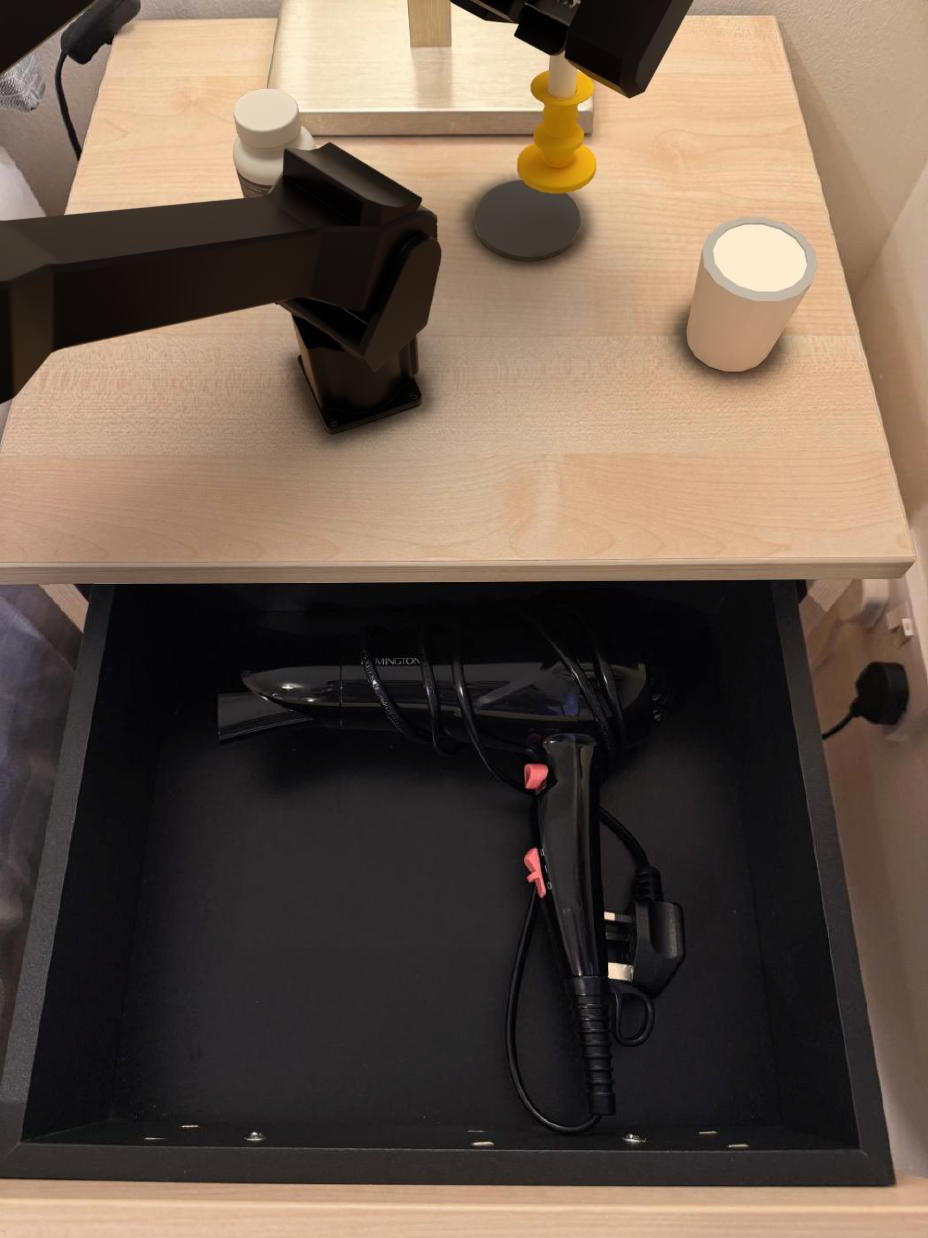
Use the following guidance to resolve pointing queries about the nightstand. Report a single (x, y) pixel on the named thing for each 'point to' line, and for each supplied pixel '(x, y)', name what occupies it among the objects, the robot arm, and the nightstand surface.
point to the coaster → (526, 221)
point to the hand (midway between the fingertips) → (572, 20)
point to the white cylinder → (747, 291)
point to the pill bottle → (265, 138)
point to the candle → (558, 132)
